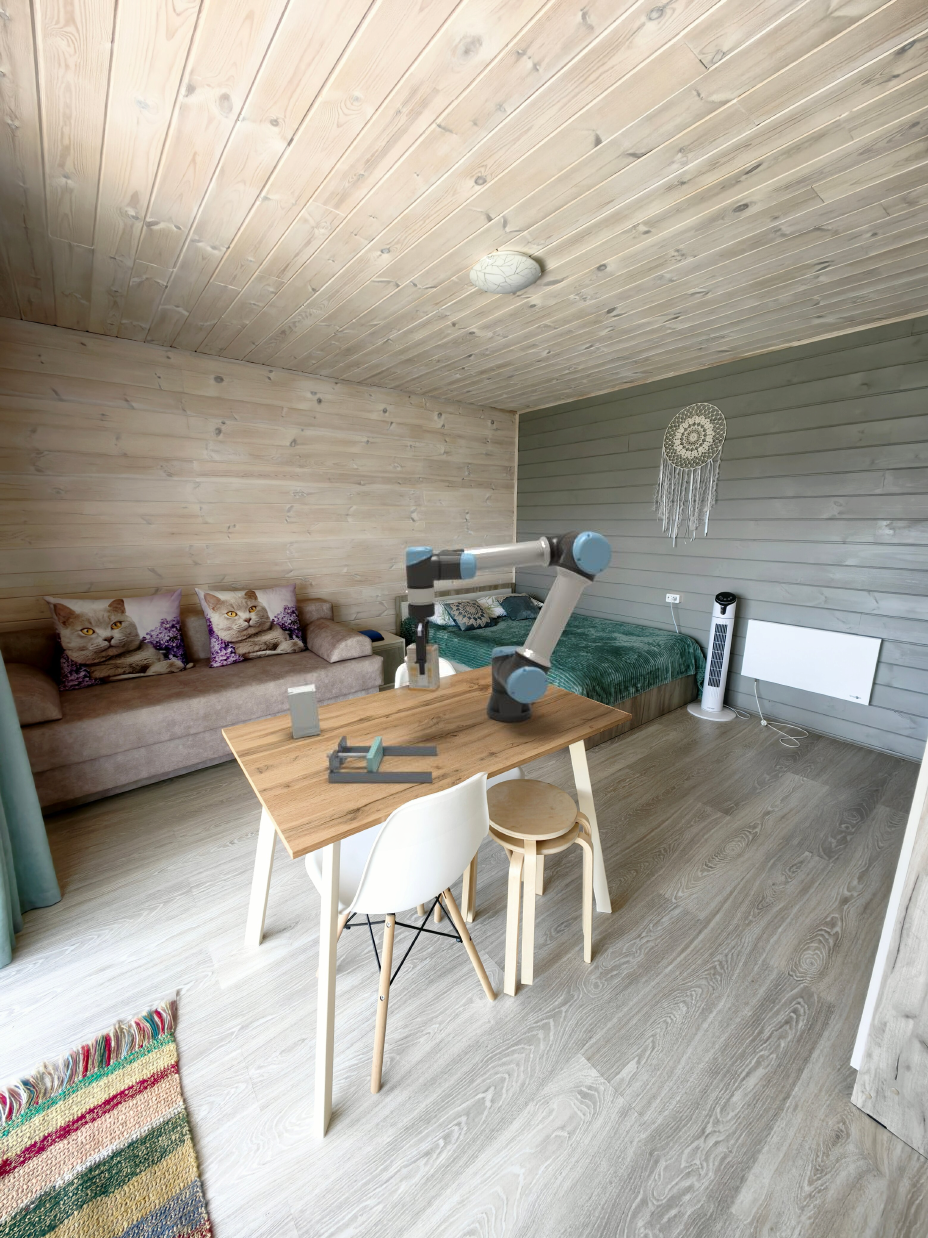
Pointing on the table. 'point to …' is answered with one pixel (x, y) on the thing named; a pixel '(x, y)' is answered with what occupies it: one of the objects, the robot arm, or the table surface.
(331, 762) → the lane
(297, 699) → the skincare box
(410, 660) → the supplement box
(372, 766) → the pusher
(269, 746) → the table surface
